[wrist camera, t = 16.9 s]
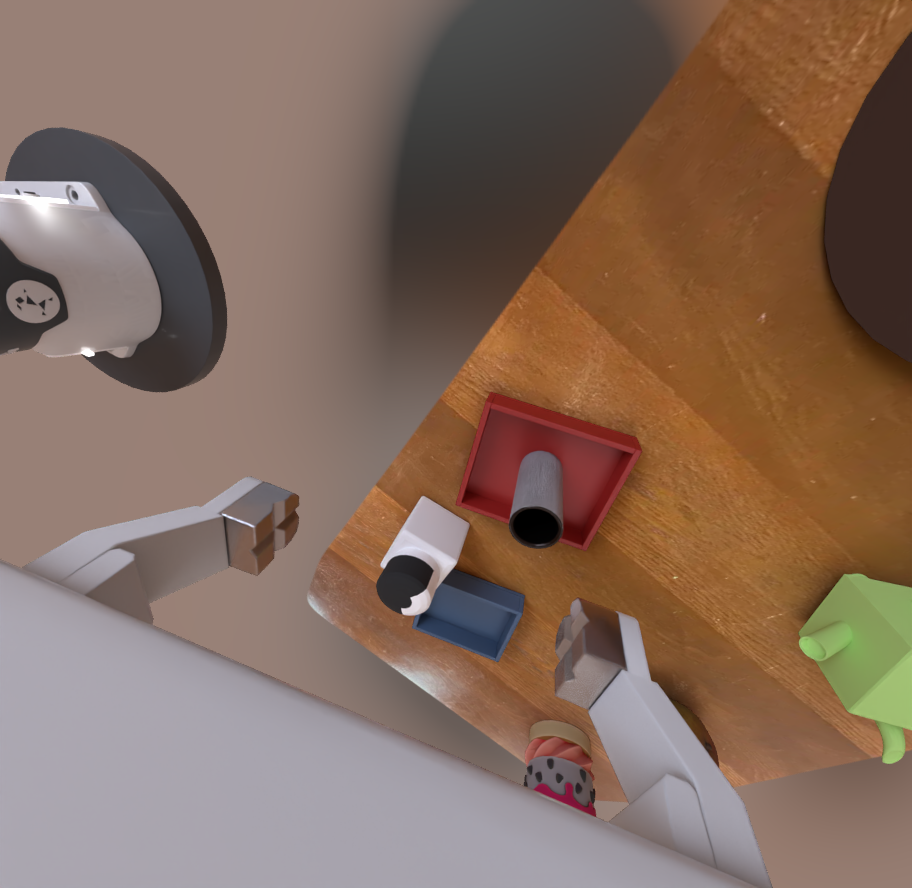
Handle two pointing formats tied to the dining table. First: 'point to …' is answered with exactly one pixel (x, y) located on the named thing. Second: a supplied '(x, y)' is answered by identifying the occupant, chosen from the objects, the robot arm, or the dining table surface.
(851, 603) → the green horned cube
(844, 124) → the dining table surface
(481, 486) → the red tray
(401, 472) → the dining table surface
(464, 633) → the blue tray
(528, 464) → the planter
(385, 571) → the medicine bottle
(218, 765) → the robot arm
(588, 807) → the cake
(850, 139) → the plate
